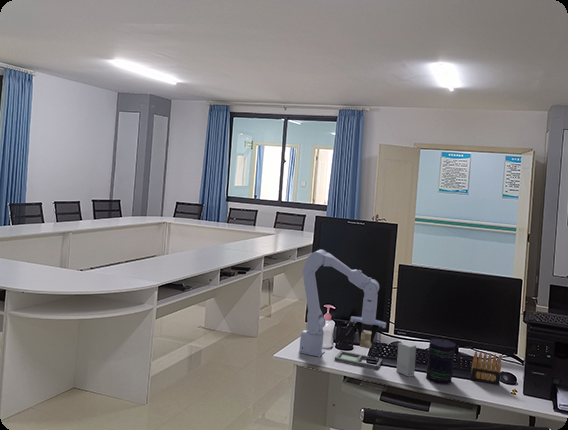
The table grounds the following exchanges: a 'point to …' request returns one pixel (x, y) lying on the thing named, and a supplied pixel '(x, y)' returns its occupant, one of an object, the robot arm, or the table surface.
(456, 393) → the table surface
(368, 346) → the birch plug
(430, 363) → the storage jar
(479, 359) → the ammunition clip
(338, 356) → the slot holder
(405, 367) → the skincare box
